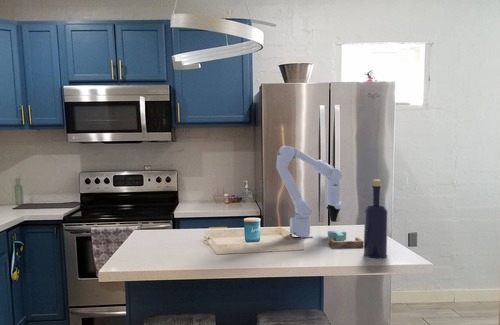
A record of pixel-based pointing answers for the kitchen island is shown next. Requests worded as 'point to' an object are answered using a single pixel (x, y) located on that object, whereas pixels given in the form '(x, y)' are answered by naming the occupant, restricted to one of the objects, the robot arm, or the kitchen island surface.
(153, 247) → the kitchen island surface
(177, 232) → the kitchen island surface
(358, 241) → the wooden drawer handle
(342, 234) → the t block
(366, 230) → the bottle
